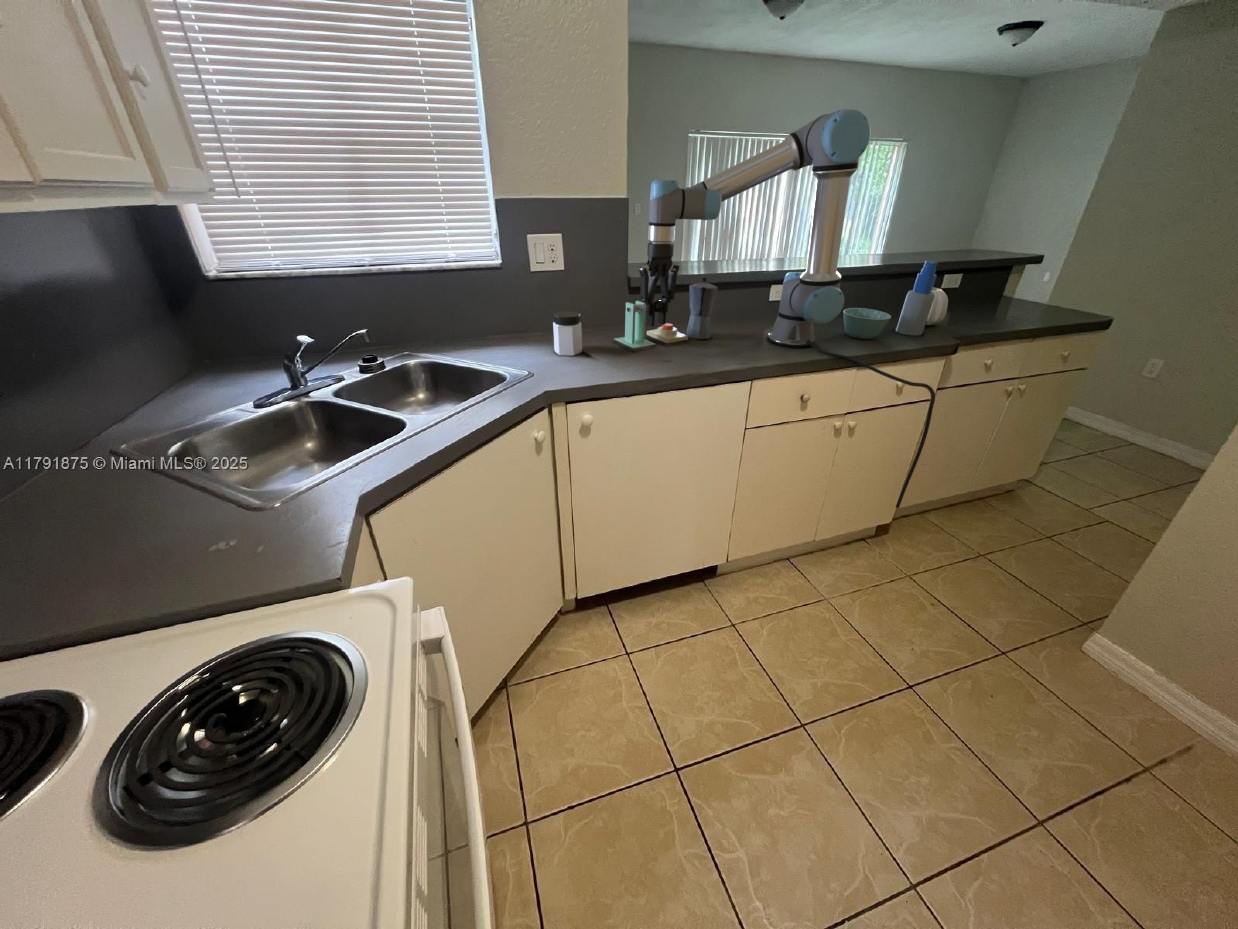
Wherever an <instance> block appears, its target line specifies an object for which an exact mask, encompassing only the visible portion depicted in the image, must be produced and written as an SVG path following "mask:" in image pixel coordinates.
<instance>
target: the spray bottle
mask: <svg viewBox="0 0 1238 929" xmlns="http://www.w3.org/2000/svg"><path fill="white" fill-rule="evenodd" d="M937 265H938V261H935V260H925V261H924V264H923V267H922V268H921V270H920V272H918V273H917V275H916V279H915V282H914V285H913V287H912V288H913V289H910V290H908V292H907V293H906V295H905V299H904V302H903V306H902V309H901V312H900V315H899V319H898V322H897V326H896V328H895V332H896V333H898V334H902V335H906V336H921V335H923V332H924V330H925V326H926V325H925V324H926V321H927V318H928V315H929V312H930V309H931V306H932V303H933V300H934V297H935V296H934V295H935V293H933V292H931V291H932V288H934V285H935V282H936V279H937V274H936V271H937Z"/></svg>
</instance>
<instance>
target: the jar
mask: <svg viewBox="0 0 1238 929" xmlns="http://www.w3.org/2000/svg"><path fill="white" fill-rule="evenodd" d="M582 324H583V323H581V314H580V313H579V312H578V311H571V310H562V311H557V312H555V313H554V314H553V322H552V328H553V347H554V348H553V349H554V352H555V353H556V354H557V355H559V356H565V357H566V356H569V357H574V356H576V355H579V354H581V353H583V329H582V328H583V327H582V326H583V325H582Z"/></svg>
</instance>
